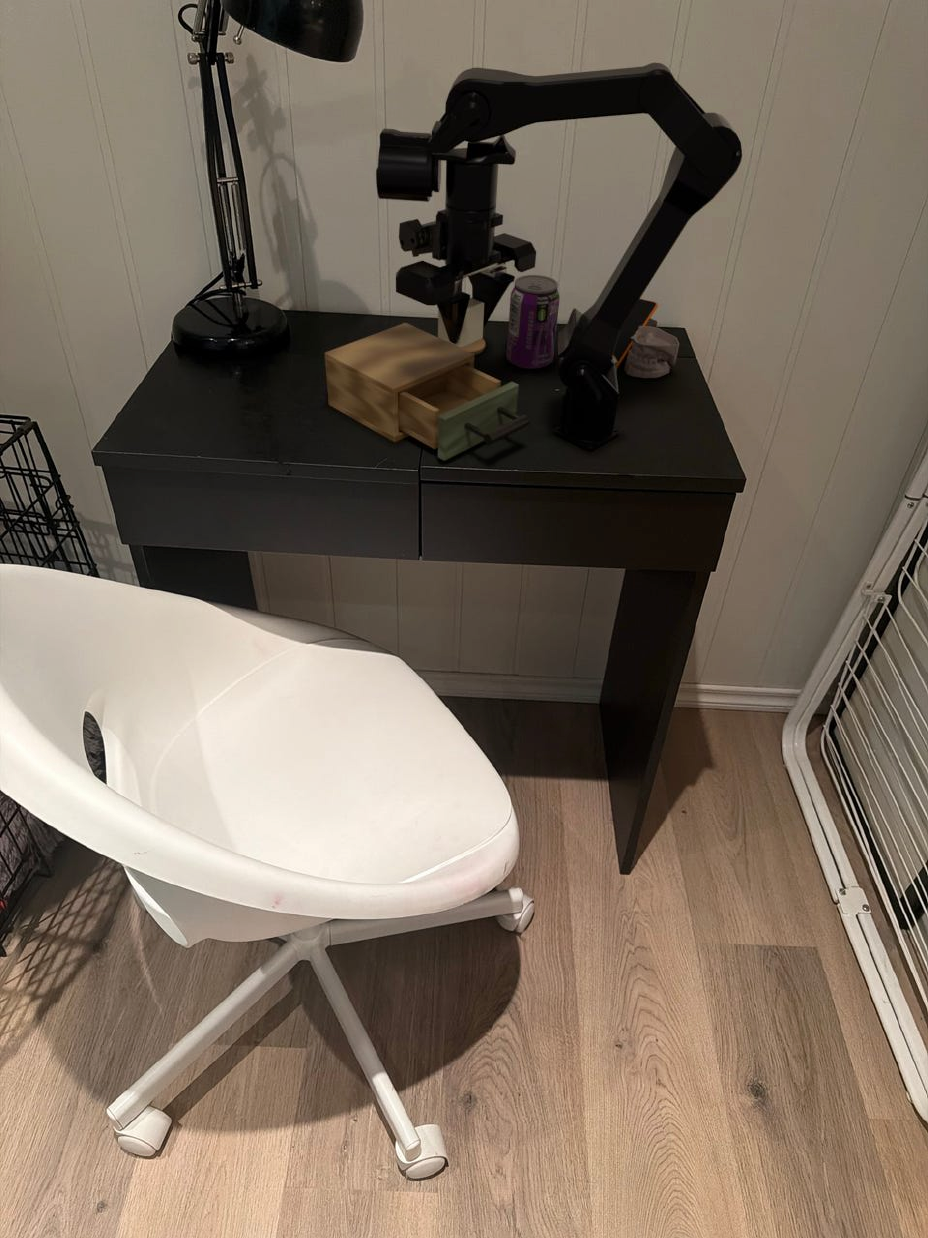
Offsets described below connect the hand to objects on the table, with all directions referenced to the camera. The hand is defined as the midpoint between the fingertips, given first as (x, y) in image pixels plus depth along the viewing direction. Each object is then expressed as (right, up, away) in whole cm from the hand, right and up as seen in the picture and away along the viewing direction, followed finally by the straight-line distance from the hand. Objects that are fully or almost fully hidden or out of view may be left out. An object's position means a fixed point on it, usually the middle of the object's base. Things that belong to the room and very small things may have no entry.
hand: (465, 337), depth 105 cm
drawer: (-1, -10, +6) cm, 12 cm away
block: (-1, 0, +1) cm, 1 cm away
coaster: (0, +8, +27) cm, 28 cm away
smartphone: (+27, +12, +29) cm, 41 cm away
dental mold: (+27, +6, +19) cm, 34 cm away
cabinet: (-9, -5, +12) cm, 16 cm away
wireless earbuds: (+27, +9, +30) cm, 42 cm away
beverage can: (+10, +4, +23) cm, 26 cm away
